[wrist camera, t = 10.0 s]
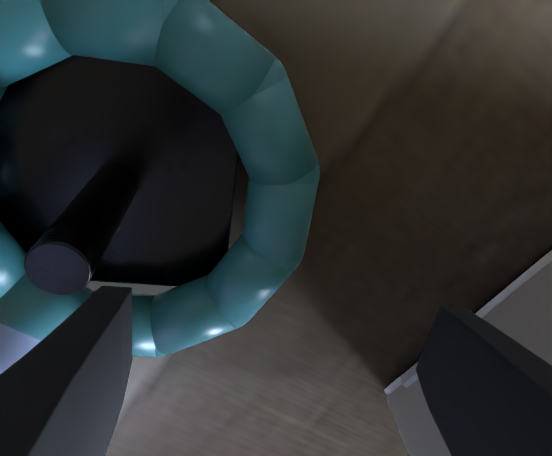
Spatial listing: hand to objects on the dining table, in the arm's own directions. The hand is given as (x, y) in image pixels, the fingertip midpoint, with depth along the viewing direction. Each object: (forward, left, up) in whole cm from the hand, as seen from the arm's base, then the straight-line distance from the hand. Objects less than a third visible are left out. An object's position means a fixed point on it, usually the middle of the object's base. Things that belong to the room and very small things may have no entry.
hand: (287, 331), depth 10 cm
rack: (0, +6, -9) cm, 11 cm away
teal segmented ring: (0, +5, -7) cm, 8 cm away
